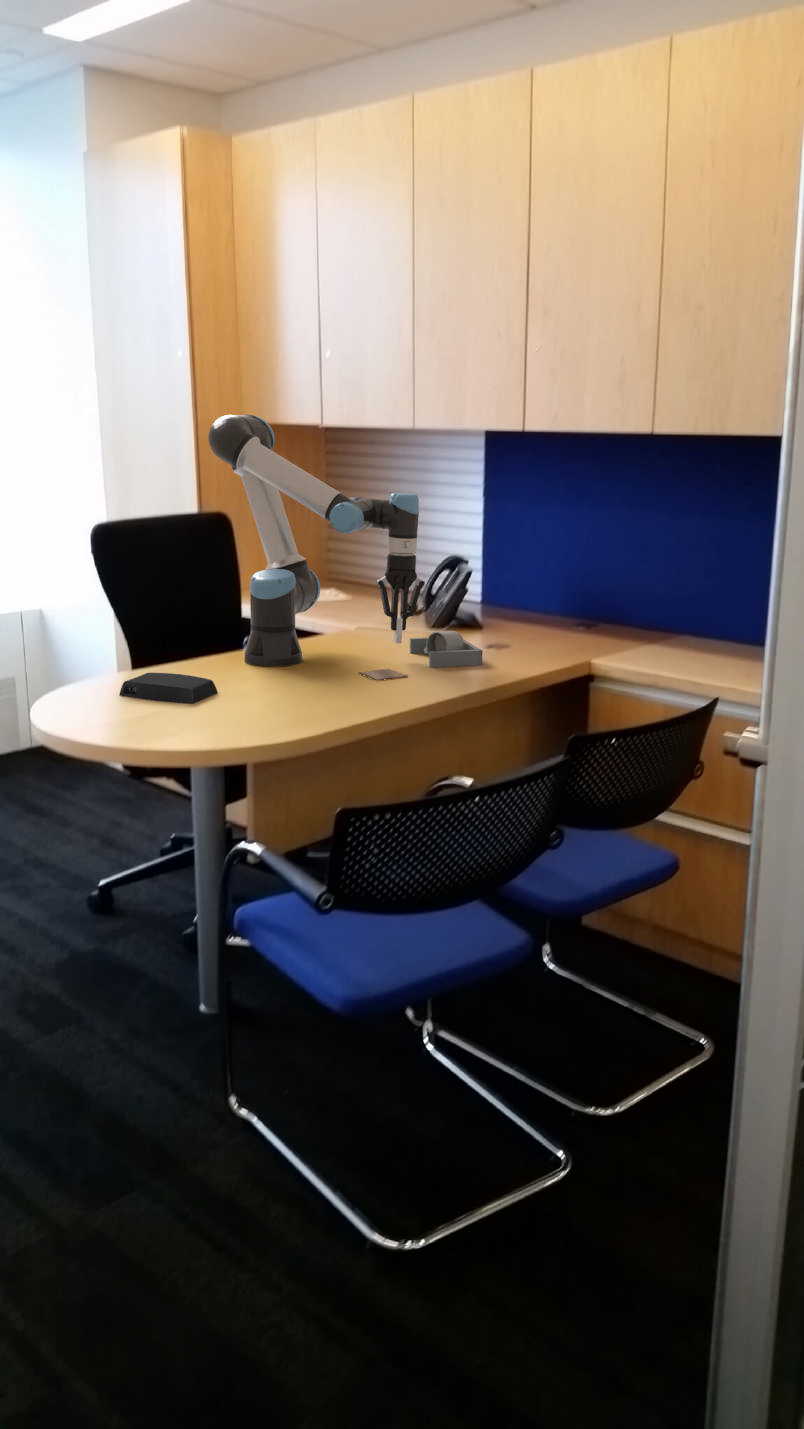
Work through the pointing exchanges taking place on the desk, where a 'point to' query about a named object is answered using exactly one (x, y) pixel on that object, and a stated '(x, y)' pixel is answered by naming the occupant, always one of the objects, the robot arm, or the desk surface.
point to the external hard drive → (169, 688)
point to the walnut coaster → (383, 674)
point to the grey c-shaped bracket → (449, 654)
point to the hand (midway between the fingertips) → (397, 642)
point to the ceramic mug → (444, 642)
